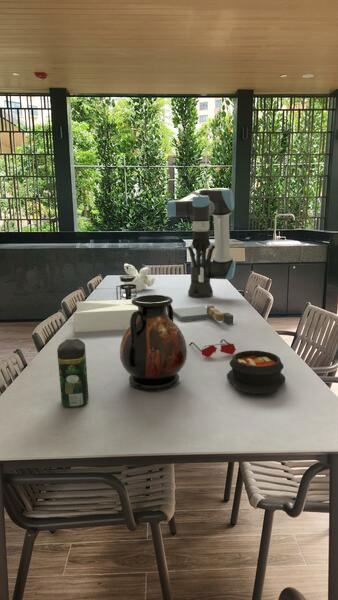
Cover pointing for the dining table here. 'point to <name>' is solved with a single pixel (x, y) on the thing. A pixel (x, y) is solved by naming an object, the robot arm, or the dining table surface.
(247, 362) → the casserole
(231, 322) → the block
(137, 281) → the white lobed sculpture
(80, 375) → the coffee jar
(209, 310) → the hinged leg
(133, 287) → the french press
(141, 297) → the amphora vase
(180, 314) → the stool seat
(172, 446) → the dining table surface
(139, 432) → the dining table surface
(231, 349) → the glasses
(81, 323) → the building model
